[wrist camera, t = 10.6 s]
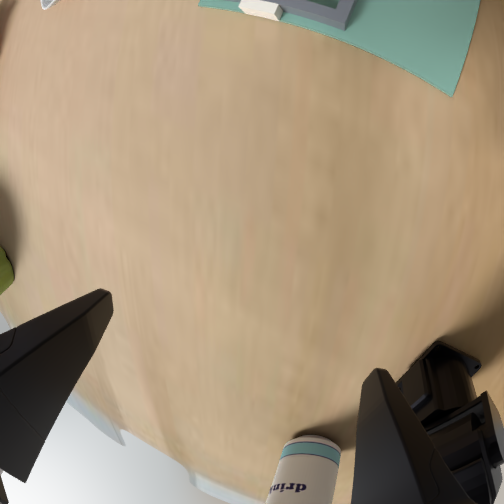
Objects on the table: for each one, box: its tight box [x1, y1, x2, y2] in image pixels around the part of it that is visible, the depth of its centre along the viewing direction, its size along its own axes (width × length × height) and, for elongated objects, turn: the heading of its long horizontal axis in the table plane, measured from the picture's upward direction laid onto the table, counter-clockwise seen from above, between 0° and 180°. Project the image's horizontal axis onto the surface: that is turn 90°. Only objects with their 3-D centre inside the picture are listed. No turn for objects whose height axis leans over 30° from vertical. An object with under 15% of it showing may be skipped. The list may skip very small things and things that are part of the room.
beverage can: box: [265, 435, 341, 504], centre depth 24 cm, size 7×7×12 cm
